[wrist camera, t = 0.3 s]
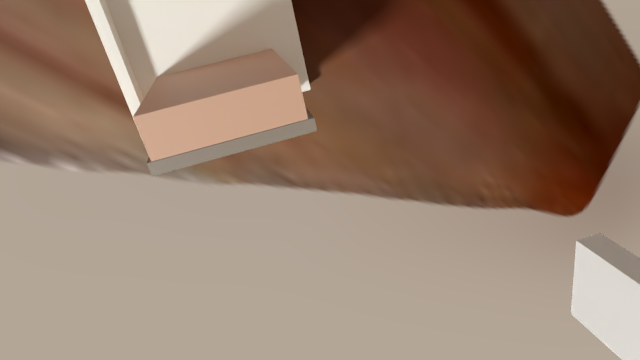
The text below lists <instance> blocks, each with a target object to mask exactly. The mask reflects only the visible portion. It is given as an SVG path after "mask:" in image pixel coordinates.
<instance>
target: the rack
mask: <svg viewBox="0 0 640 360" xmlns="http://www.w3.org/2000/svg"><path fill="white" fill-rule="evenodd" d="M85 1H86V4H87V6H88V9H89V11H90V14H91V16H92V18H93V21H94V23H95V26H96V28H97V31H98V33H99V36H100V38H101V40H102V43H103V45H104V48H105V50H106V53H107V55H108V58H109V60H110V62H111V65H112V67H113V70H114V72H115V75H116V77H117V80H118V82H119V84H120V87H121V89H122V92H123V94H124V97H125V99H126V102H127V104H128V107H129V109H130V111H131V114H132V116H133V119H134V121H135V124H136V126H137V129H138V131H139V133H140V136H141V138H142V141H143V143H144V145H145V148H146V150H147V153H148V155H149V158H148V161H147V165H148V168H149V170H150V173H151V175H152V176H155V175H159V174H162V173H166V172H170V171H173V170H177V169H180V168H184V167H188V166H191V165H195V164H199V163H202V162H206V161H209V160H213V159H217V158H220V157H224V156H228V155H231V154H235V153H239V152H242V151H246V150H249V149H253V148H257V147H260V146H264V145H268V144H271V143H275V142H278V141H282V140H286V139H289V138H293V137H297V136H300V135H304V134H307V133H311V132H315V131H317V128H316V123H315V119H314V117H313V116H312V114H311V113H310V112H309V111H308V109H307V108H306V107H305V103H304V99H303V95H302V92H304V91H307V90H311V89H310V84H309V80H308V75H307V71H306V66H305V61H304V57H303V52H302V48H301V43H300V38H299V34H298V29H297V25H296V20H295V16H294V11H293V6H292V2H291V0H85Z"/></svg>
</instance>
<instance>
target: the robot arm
mask: <svg viewBox="0 0 640 360" xmlns="http://www.w3.org/2000/svg"><path fill="white" fill-rule="evenodd" d="M571 314H572V315H573V316H574V317H575V318H576V319H577V320H579V321H580V322H581V323H582V324H583V325H584V326H585V327H586V328H587V329H589V330H590V331H591V332H592V333H593V334H594V335H595V336H596V337H597V338H599V339H600V340H601V341H602V342H603V343H604V344H605V345H606V346H607V347H608V348H609V349H611V350H612V351H613V352H614V353H615V354H616V355H617V356H618V357H619V358H620V359H622V360H640V258H639V257H637V256H636V255H634V254H633V253H631V252H629V251H628V250H626V249H625V248H623V247H621V246H620V245H618V244H617V243H615V242H614V241H612V240H610V239H609V238H607V237H605V236H604V235H602V234H601V233H599V234H596V235H593V236H589V237H586V238H583V239H580V240H577V241H576V252H575V267H574V279H573V292H572V307H571Z"/></svg>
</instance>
